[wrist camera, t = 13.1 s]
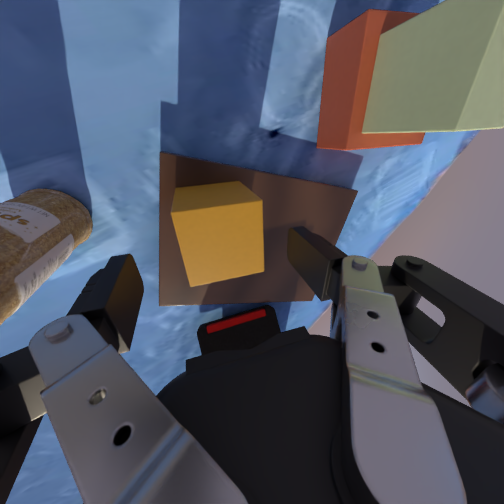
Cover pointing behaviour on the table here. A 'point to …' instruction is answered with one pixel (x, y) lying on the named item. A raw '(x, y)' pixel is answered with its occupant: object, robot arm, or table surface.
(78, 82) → the table surface
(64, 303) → the table surface
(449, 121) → the middle block
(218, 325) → the handheld gaming console
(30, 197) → the spice jar
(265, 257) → the board
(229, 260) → the top block
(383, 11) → the base block
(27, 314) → the table surface
